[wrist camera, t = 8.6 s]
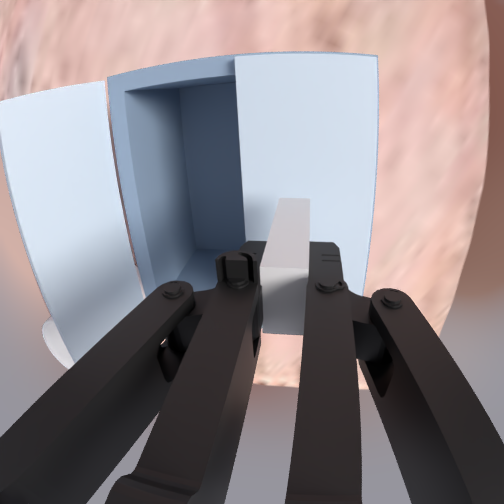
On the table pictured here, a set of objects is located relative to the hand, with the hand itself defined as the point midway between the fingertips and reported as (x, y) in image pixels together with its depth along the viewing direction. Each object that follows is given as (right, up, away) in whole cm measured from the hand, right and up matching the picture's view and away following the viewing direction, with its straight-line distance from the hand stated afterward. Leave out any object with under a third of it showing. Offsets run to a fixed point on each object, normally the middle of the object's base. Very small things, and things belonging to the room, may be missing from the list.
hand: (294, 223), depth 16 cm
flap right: (+1, +1, +3) cm, 3 cm away
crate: (-1, +6, +12) cm, 13 cm away
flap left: (-13, 0, +2) cm, 13 cm away
